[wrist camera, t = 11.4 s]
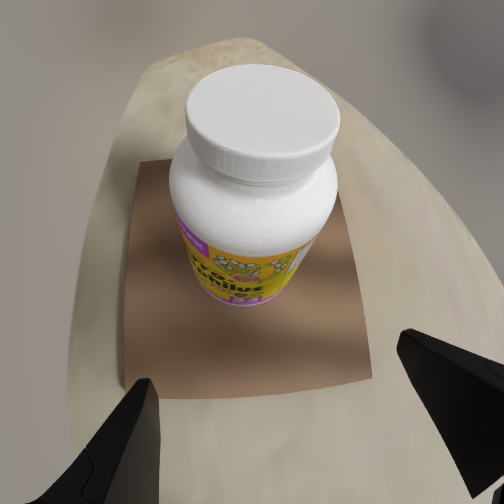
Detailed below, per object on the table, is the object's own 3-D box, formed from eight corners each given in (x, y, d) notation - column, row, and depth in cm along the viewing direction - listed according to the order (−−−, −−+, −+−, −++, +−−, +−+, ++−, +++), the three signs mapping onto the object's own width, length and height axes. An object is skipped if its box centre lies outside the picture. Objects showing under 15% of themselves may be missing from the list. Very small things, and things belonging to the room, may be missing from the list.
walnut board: (365, 377, 18) (372, 377, 17) (130, 395, 16) (125, 396, 15) (325, 164, 25) (328, 157, 24) (143, 169, 23) (140, 162, 22)
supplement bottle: (172, 270, 19) (104, 119, 7) (231, 201, 21) (238, 37, 9) (256, 330, 18) (310, 240, 6) (309, 251, 20) (393, 105, 8)
